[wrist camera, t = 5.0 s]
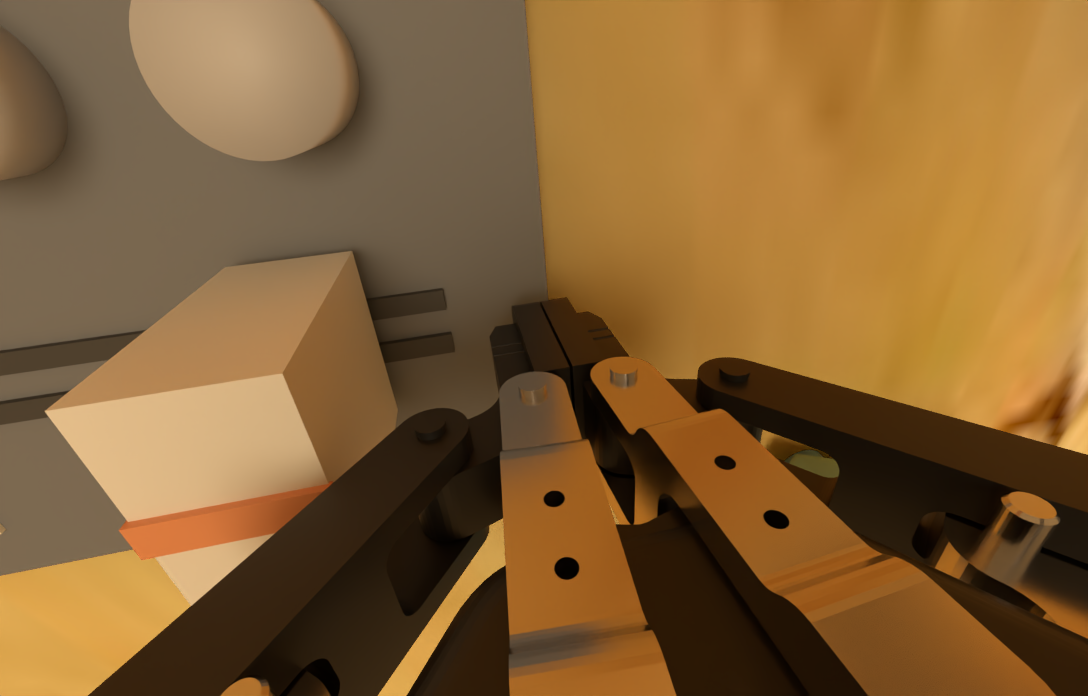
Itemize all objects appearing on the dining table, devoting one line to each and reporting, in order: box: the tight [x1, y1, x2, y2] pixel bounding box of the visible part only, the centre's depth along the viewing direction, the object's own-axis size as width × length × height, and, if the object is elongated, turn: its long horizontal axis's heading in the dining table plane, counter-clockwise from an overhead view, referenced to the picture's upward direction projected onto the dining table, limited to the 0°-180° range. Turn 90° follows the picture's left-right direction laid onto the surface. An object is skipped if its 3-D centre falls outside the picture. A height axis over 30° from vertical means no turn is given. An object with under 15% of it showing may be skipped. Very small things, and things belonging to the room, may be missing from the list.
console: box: [0, 0, 548, 576], centre depth 11 cm, size 25×16×4 cm, turn 95°
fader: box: [45, 251, 398, 606], centre depth 10 cm, size 3×5×6 cm, turn 5°
